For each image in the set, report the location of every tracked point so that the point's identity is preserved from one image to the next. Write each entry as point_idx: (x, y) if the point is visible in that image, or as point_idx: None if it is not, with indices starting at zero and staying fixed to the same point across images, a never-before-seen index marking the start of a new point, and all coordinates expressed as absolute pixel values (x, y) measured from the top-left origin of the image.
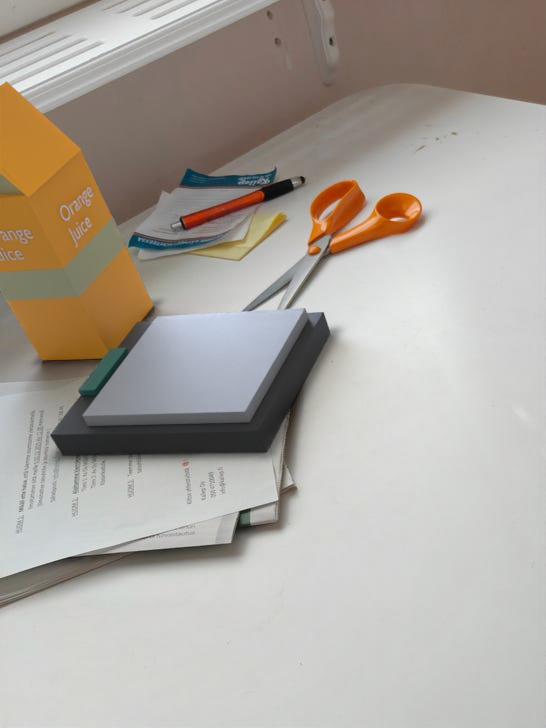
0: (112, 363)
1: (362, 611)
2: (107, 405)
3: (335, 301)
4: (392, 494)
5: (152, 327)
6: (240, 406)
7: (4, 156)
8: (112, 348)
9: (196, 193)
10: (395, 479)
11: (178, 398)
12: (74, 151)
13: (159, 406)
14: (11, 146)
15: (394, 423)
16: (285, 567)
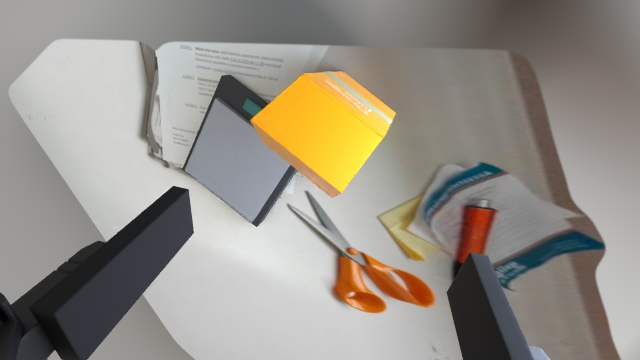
0: None
1: (109, 163)
2: (217, 113)
3: (289, 235)
4: (153, 193)
5: None
6: (188, 169)
7: (273, 146)
8: None
9: (535, 234)
10: None
11: (206, 147)
12: (325, 192)
13: (204, 137)
14: (285, 155)
15: None
16: (131, 149)
